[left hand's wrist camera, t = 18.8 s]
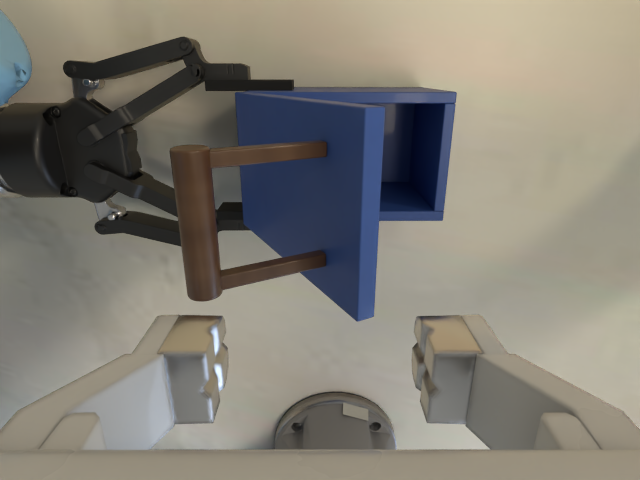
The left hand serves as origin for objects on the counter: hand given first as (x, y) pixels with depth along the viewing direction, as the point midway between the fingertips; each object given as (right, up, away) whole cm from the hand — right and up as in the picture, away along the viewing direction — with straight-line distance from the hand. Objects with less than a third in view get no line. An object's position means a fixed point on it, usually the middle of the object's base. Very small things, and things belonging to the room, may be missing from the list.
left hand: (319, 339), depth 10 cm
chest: (+2, +12, +31) cm, 34 cm away
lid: (-1, +6, +15) cm, 16 cm away
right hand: (-2, +10, +25) cm, 27 cm away
